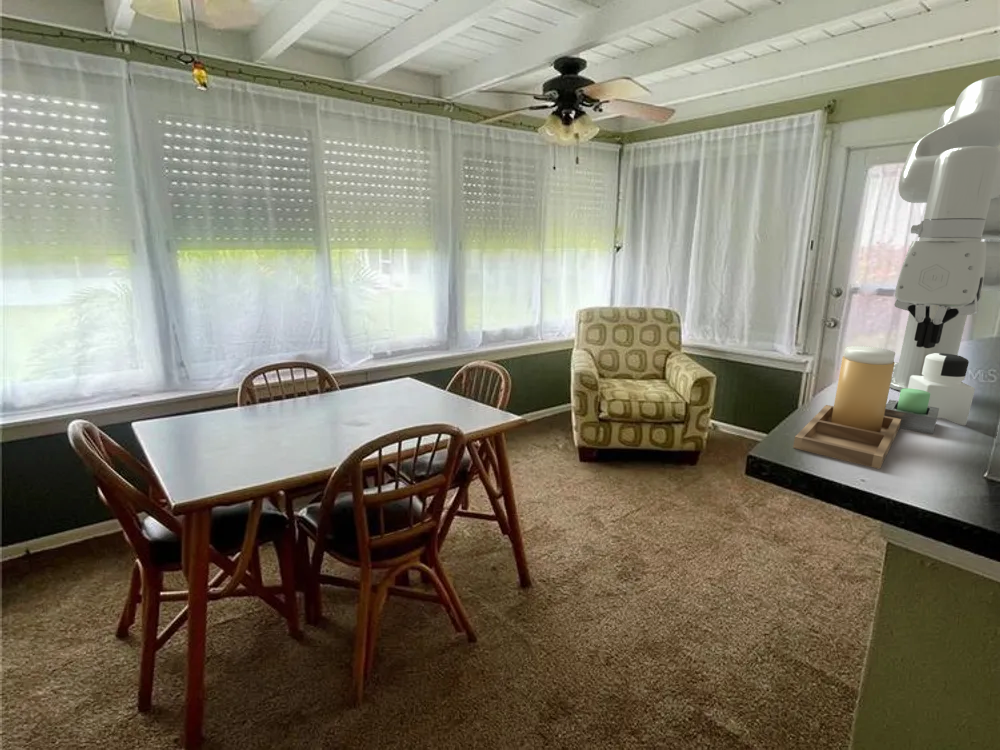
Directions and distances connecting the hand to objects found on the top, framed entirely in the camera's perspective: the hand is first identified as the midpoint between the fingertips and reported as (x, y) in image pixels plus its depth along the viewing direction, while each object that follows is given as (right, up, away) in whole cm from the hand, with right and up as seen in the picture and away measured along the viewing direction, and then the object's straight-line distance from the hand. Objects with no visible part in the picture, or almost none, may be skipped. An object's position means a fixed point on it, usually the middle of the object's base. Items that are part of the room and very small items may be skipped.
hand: (925, 346), depth 86 cm
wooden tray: (-14, -16, -2) cm, 22 cm away
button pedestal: (0, -14, +4) cm, 15 cm away
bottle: (-11, -14, +1) cm, 18 cm away
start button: (0, -11, +3) cm, 12 cm away
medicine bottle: (+10, -13, +11) cm, 19 cm away
